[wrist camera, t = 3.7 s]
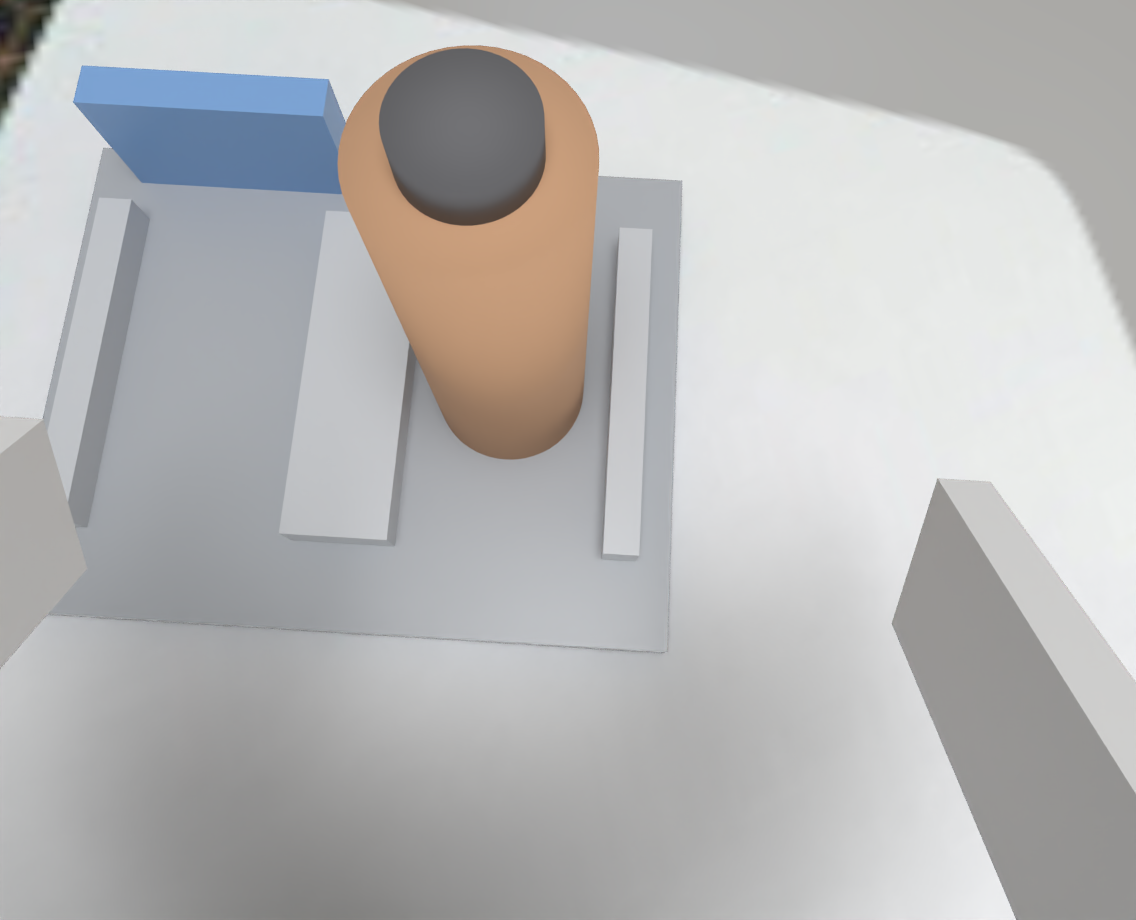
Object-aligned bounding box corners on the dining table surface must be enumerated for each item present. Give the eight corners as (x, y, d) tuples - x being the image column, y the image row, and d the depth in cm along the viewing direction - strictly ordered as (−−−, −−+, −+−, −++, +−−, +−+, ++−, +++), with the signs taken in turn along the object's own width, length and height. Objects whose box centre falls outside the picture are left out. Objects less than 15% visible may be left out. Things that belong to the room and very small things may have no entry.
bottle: (409, 383, 26) (264, 107, 13) (518, 295, 27) (478, -45, 14) (503, 489, 25) (442, 301, 13) (613, 395, 26) (659, 129, 13)
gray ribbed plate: (662, 653, 25) (687, 646, 20) (25, 612, 25) (-108, 597, 20) (677, 200, 29) (701, 100, 24) (121, 169, 29) (29, 62, 24)
